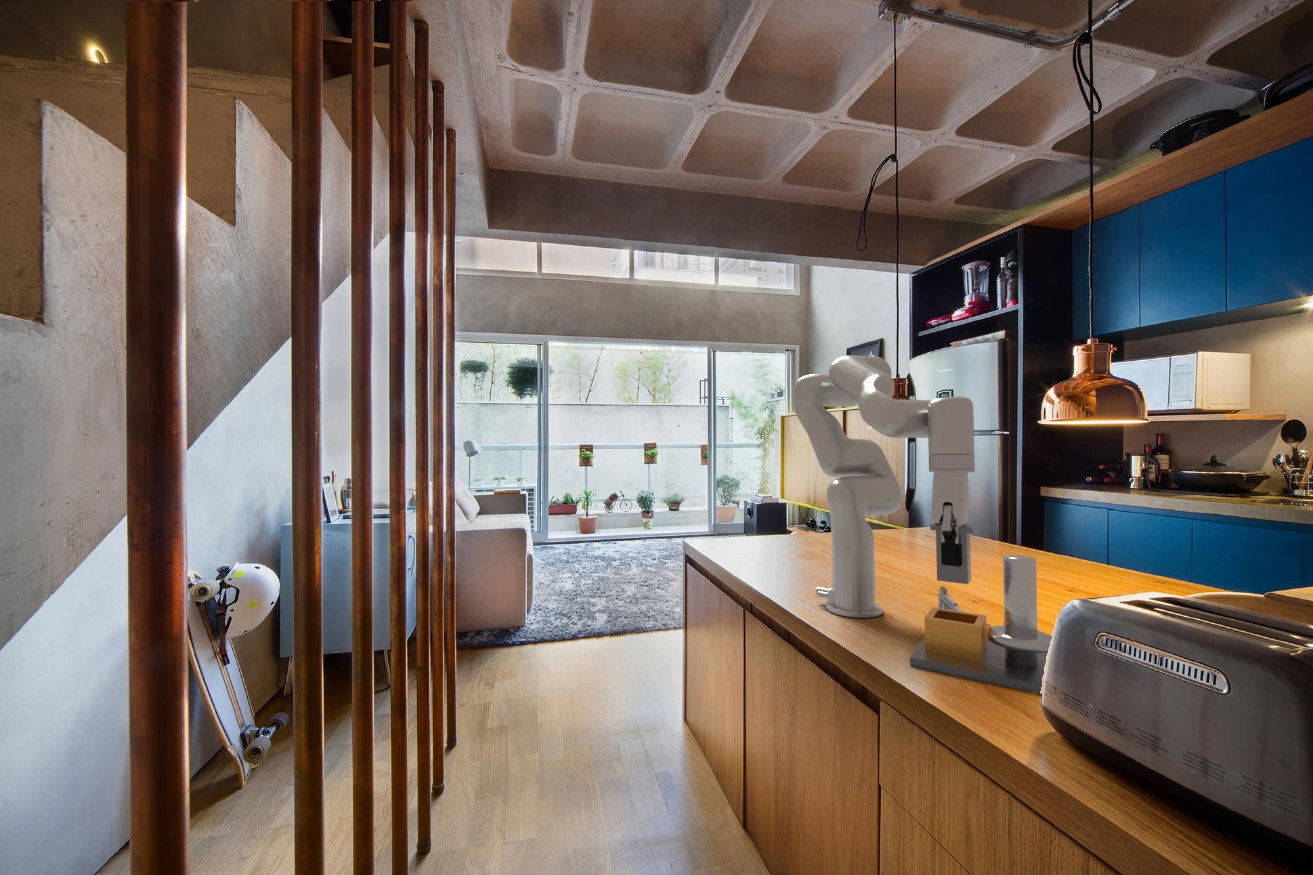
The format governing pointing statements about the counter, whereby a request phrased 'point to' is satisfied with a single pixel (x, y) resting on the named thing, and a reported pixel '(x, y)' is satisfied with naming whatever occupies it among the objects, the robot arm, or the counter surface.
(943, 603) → the caliper
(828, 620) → the counter surface
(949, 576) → the tall grey pillar block
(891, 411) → the robot arm
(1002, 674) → the post
